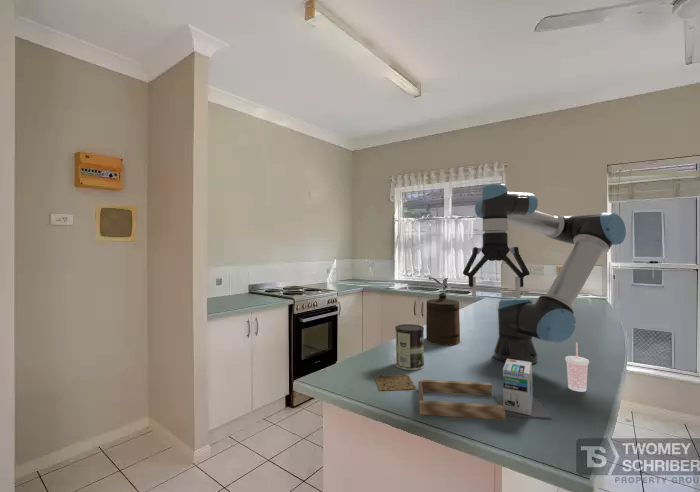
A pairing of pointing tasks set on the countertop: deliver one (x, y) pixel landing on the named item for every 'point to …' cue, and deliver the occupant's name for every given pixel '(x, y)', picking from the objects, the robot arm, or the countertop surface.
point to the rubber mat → (535, 413)
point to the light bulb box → (517, 386)
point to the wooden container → (443, 321)
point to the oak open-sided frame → (454, 407)
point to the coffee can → (409, 347)
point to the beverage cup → (577, 372)
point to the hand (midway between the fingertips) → (495, 297)
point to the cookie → (394, 383)
